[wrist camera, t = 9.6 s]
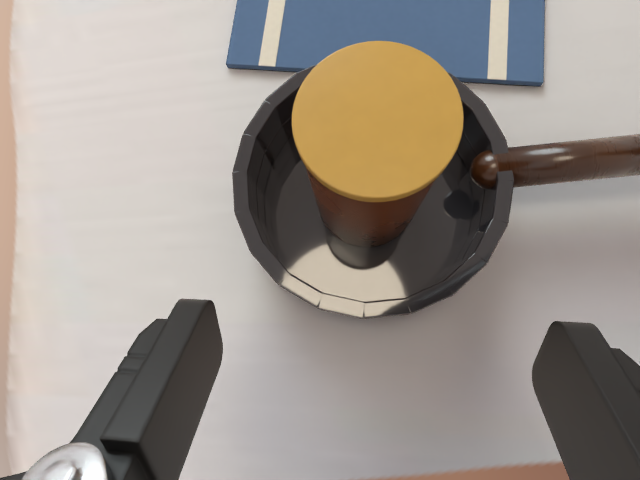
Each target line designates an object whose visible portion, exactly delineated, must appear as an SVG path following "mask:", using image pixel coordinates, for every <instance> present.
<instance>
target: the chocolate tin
mask: <svg viewBox="0 0 640 480" xmlns="http://www.w3.org/2000/svg"><path fill="white" fill-rule="evenodd" d="M463 121H464V116H463V106H462V102H461V98H460V95H459V92H458V90H457V87H456V85H455V84H454V82H453V80H452V78H451V77H450V76H449V74H448V73H447V72H446V70H445V69H444V68H443V67H442V66H441V65H440V64H439V63H438V62H436V61H435V60H434V59H433V58H431V57H430V56H429V55H427V54H425V53H423V52H422V51H420V50H418V49H415V48H413V47H411V46H408V45H404V44H401V43H396V42H390V41H368V42H362V43H357V44H353V45H350V46H347V47H345V48H342V49H340V50H338V51H336V52H334V53H332V54H331V55H329V56H327V57H326V58H325V59H323V60H322V61H321V62H319V63H318V64H317V65H316V66H315V67H314V68H313V69H312V70H311V72H310V73H309V74H308V75H307V77H306V78H305V80H304V81H303V83H302V84H301V86H300V88H299V90H298V93H297V95H296V98H295V101H294V105H293V111H292V132H293V137H294V141H295V144H296V148H297V151H298V153H299V155H300V157H301V160H302V161H303V163H304V165H305V167H306V170H307V173H308V177H309V180H310V183H311V186H312V190H313V193H314V196H315V200H316V203H317V206H318V209H319V213H320V216H321V218H322V220H323V222H324V224H325V226H326V227H327V228H328V229H329V231H330V232H331V233H332V234H333V235H334V236H336V237H337V238H338V239H340V240H342V241H344V242H345V243H348V244H351V245H354V246H359V247H374V246H379V245H383V244H385V243H388V242H390V241H392V240H393V239H395V238H396V237H398V236H399V235H400V234H401V233H402V232H403V231H404V230H405V229H406V228H407V226H408V225H409V223H410V222H411V220H412V218H413V217H414V215H415V213H416V212H417V210H418V208H419V207H420V205H421V203H422V202H423V200H424V198H425V197H426V195H427V193H428V192H429V190H430V188H431V186H432V185H433V183H434V181H435V180H436V178H437V177H438V176H439V175H440V174H441V173H442V172H443V171H444V170H445V168H446V167H447V166H448V164H449V163H450V161H451V159H452V158H453V156H454V154H455V152H456V150H457V148H458V145H459V143H460V140H461V136H462V131H463Z"/></svg>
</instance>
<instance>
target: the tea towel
mask: <svg viewBox="0 0 640 480" xmlns="http://www.w3.org/2000/svg"><path fill="white" fill-rule="evenodd" d="M544 15H545V0H237V5H236V11H235V16H234V22H233V28H232V33H231V39H230V44H229V50H228V56H227V61H226V65H227V67H228V68H242V69H259V70H276V71H292V72H300V71H302V70H304V69H307V68H309V67H311V66H313V65H316V64H318V63H319V62H321V61H322V60H323V59H325V58H326V57H327V56H329V55H331V54H332V53H334V52H336V51H338V50H340V49H342V48H345V47H347V46H350V45H353V44H357V43H362V42H368V41H390V42H396V43H401V44H404V45H408V46H411V47H413V48H415V49H418V50H420V51H422V52H423V53H425V54H427V55H429V56H430V57H431V58H433V59H434V60H435V61H436V62H438V63H439V64H440V65H441V66H442V67H443V68H444V69H445V70H446V72H449V73H451V74H453V76H455V77H456V78H457V79H458V80H460V81H461V82H477V83H494V84H511V85H527V86H541V85H542V84H543V79H544Z"/></svg>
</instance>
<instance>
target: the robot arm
mask: <svg viewBox="0 0 640 480" xmlns="http://www.w3.org/2000/svg"><path fill="white" fill-rule="evenodd" d="M222 353H223V343H222V338H221V333H220V329H219V324H218V319H217V315H216V310H215V306H214V303H213V302H212V301H211V300H197V299H180V300H179V301H178V302H177V303H176V305H175V307H174V308H173V310H172V312H171V314H170V315H169V317H168V319H156V320H155V321H154V322H153V323H152V324H150V325H149V326H148V327H147V328H146V329H145V330H143V331H142V332H141V333H140V334H139V335H138V337H137V338H136V340H135V341H134V343H133V345H132V346H131V348H130V349H129V351H128V355H127V357H124V359H123V361H122V362H121V364H120V365H119V367H118V371H117V372H115V373H114V375H113V377H112V378H111V380H110V381H109V383H108V385H107V386H106V388H105V389H104V391H103V393H102V394H101V396H100V397H99V399H98V401H97V402H96V404H95V405H94V407H93V409H92V410H91V412H90V413H89V415H88V417H87V418H86V420H85V421H84V423H83V425H82V426H81V428H80V429H79V431H78V433H77V434H76V435H75V437H74V438H73V440H72V441H71V442H70V443H69V444H67V445H64V446H61V447H59V448H57V449H55V450H53V451H51V452H49V453H48V454H46V455H45V456H43V457H42V458H41V459H40V460H38V461H37V462H36V463H35V464H34V465H33V466H32V467H31V468H30V469H29V470H28V471H26V472H23V473H20V474H16V475H12V476H7V477H3V478H0V480H178V479H179V476H180V473H181V471H182V468H183V465H184V463H185V460H186V457H187V454H188V452H189V449H190V446H191V444H192V441H193V438H194V436H195V433H196V430H197V427H198V425H199V422H200V419H201V417H202V414H203V411H204V409H205V406H206V403H207V400H208V398H209V395H210V392H211V390H212V387H213V384H214V381H215V379H216V376H217V373H218V371H219V368H220V365H221V360H222ZM532 381H533V387H534V390H535V393H536V396H537V398H538V401H539V403H540V406H541V408H542V411H543V413H544V416H545V418H546V421H547V423H548V426H549V428H550V431H551V433H552V436H553V438H554V441H555V443H556V446H557V449H558V451H559V454H560V456H561V459H562V461H563V464H564V466H565V469H566V471H567V473H568V476H569V479H570V480H640V366H639V365H638V364H637V363H636V362H634V361H633V360H632V359H631V358H630V357H629V356H627V355H626V354H625V353H624V352H623V351H622V350H620V349H616V348H610V346H609V345H608V343H607V342H606V340H605V339H604V337H603V335H602V334H601V332H600V331H599V329H598V328H597V327H596V326H595V325H593V324H591V323H578V322H560V321H555V322H553V323H552V324H551V325H550V327H549V329H548V331H547V334H546V336H545V338H544V341H543V343H542V345H541V348H540V350H539V352H538V355H537V357H536V359H535V362H534V364H533V368H532Z"/></svg>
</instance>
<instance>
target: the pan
mask: <svg viewBox="0 0 640 480" xmlns="http://www.w3.org/2000/svg"><path fill="white" fill-rule="evenodd" d="M316 65H317V64H316ZM316 65H313V66H311V67H309V68H307V69H304V70H302V71H300V72H297V73H296V74H294V75H293V76H292V77H291V78H290V79H288V80H287V81H286V82H285V83H284V84H283V85H281V86H280V87H279V88H278V89H277V90H275V91H274V92H273V93H272V94H271V95H269V96H268V97H267V98H266V99H265V101H264V102H263V103H262V105H261V106H260V108H259V110H258V111H257V113H256V114H255V116H254V117H253V119H252V120H251V122H250V123H249V125H248V127H247V128H246V130H245V131H244V134H243V135H242V139H241V143H240V146H239V150H238V154H237V157H236V161H235V165H234V168H233V173H232V176H233V194H234V212H235V215H236V218H237V220H238V223H239V225H240V228H241V230H242V233H243V235H244V238H245V240H246V243H247V245H248V248H249V250H250V252H251V254H252V255H253V256H254V257H255V258H256V259H257V261H258V262H259V263H260V264H261V265H262V266H263V268H264V269H265V270H266V271H267V272H268V273H269V275H270V276H271V277H272V278H273V279H274V280H275V282H276V283H277V284H278V285H280V286H281V287H282V288H284V289H286V290H287V291H289V292H291V293H292V294H294V295H296V296H297V297H299V298H301V299H302V300H304V301H306V302H307V303H309V304H311V305H312V306H314V307H316V308H318V309H321V310H324V311H328V312H332V313H337V314H341V315H346V316H350V317H355V318H359V319H367V318H377V317H388V316H398V315H408V314H412V313H414V312H417V311H419V310H421V309H423V308H426V307H428V306H430V305H432V304H435V303H437V302H439V301H441V300H444V299H446V298H448V297H450V296H453V294H455V293H456V292H457V291H458V290H460V289H461V288H462V287H463V286H464V285H465V284H466V283H467V282H468V281H469V280H470V279H471V278H472V277H474V276H475V275H476V274H477V273H478V272H479V271H480V270H481V269H482V268H483V267H484V266H485V265H486V264H487V263H488V262H489V260H490V258H491V256H492V254H493V252H494V250H495V248H496V246H497V244H498V243H499V241H500V239H501V237H502V235H503V233H504V231H505V229H506V227H507V225H508V222H509V215H510V208H511V201H512V194H513V187H514V176H513V171H512V170H511V171H501V172H497V173H496V181H495V184H494V186H493V187H492V188H491V189H483V188H481V187H479V186H478V185H476V184H475V183H474V182H473V180H472V178H471V175H470V166H471V163H472V161H473V160H474V158H475V157H476V156H477V155H478V154H480V153H481V152H484V151H486V150H490V151H491V152H492V154H493V155H495V154H503V153H509V151H508V146H507V142H506V139H505V137H504V135H503V133H502V132H501V130H500V128H499V126H498V125H497V123H496V121H495V120H494V118H493V116H492V115H491V113H490V111H489V109H488V108H487V106H486V104H485V103H484V102H483V101H482V100H481V99H480V98H479V97H478V96H476V95H475V94H474V93H473V92H472V91H471V90H470V89H469V88H467V87H466V86H465V85H464V84H463V83H462V82H461V81H460V80H458V79H457V78H456V77H455V76H453V74H451V73H449V72H447V73H448V74H449V76H450V77H451V78H452V80H453V82H454V84H455V85H456V87H457V90H458V92H459V95H460V98H461V102H462V106H463V116H464V121H463V131H462V136H461V140H460V143H459V145H458V148H457V150H456V152H455V154H454V156H453V158H452V159H451V161H450V163H449V164H448V166H447V167H446V168H445V170H444V171H443V172H442V173H441V174H440V175H439V176H438V177H437V178H436V180H435V181H434V183H433V185H432V186H431V188H430V190H429V192H428V193H427V195H426V197H425V198H424V200H423V202H422V203H421V205H420V207H419V208H418V210H417V212H416V213H415V215H414V217H413V218H412V220H411V222H410V223H409V225H408V226H407V228H406V229H405V230H404V231H403V232H402V233H401V234H400V235H399V236H398V237H396V238H395V239H393V240H392V241H390V242H388V243H385V244H383V245H379V246H374V247H359V246H354V245H351V244H348V243H345V242H344V241H342V240H340V239H338V238H337V237H336V236H334V235H333V234H332V233H331V232H330V231H329V229H328V228H327V227H326V226H325V224H324V222H323V220H322V218H321V216H320V213H319V209H318V206H317V203H316V200H315V196H314V193H313V190H312V186H311V183H310V180H309V177H308V173H307V170H306V167H305V165H304V163H303V161H302V160H301V157H300V155H299V153H298V151H297V148H296V144H295V141H294V137H293V132H292V111H293V105H294V101H295V98H296V95H297V93H298V90H299V88H300V86H301V84H302V83H303V81H304V80H305V78H306V77H307V75H308V74H309V73H310V72H311V70H312V69H313V68H314V67H315V66H316Z"/></svg>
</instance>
